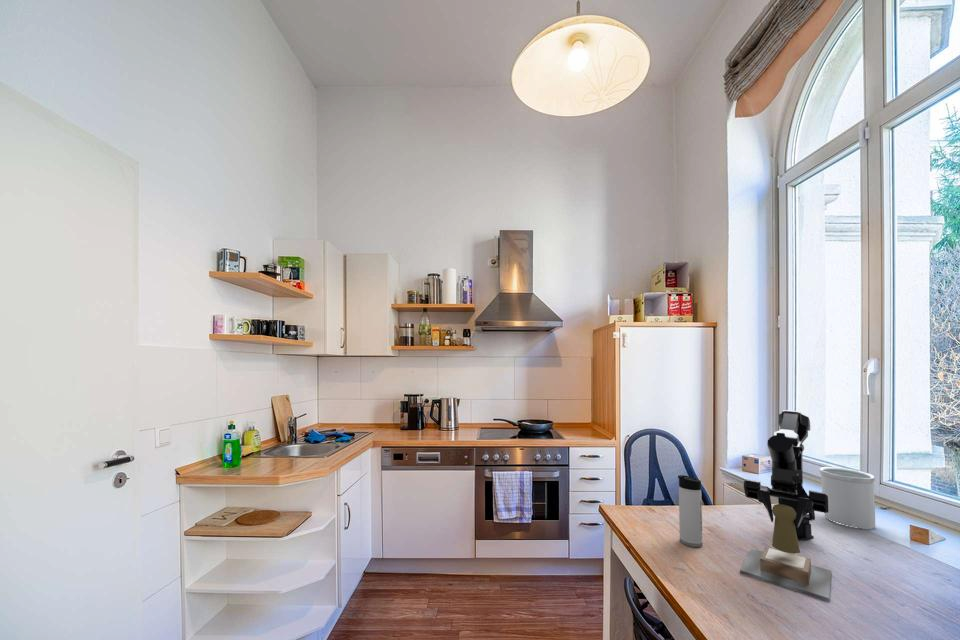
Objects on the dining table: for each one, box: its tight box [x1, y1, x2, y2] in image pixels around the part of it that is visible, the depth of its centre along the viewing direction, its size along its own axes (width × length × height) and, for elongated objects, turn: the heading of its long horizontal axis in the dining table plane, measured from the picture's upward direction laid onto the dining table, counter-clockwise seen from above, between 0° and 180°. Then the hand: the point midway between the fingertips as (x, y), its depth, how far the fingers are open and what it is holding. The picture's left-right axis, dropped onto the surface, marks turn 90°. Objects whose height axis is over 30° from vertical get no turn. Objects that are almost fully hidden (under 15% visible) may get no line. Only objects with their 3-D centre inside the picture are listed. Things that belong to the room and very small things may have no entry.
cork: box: [771, 503, 801, 555], centre depth 110 cm, size 6×6×11 cm
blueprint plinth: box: [739, 546, 832, 603], centre depth 109 cm, size 18×18×4 cm
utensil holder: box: [819, 466, 876, 530], centre depth 148 cm, size 15×15×18 cm
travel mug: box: [677, 474, 703, 548], centre depth 126 cm, size 6×7×20 cm
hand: (784, 524), depth 109 cm, fingers closed on cork, 5 cm apart
